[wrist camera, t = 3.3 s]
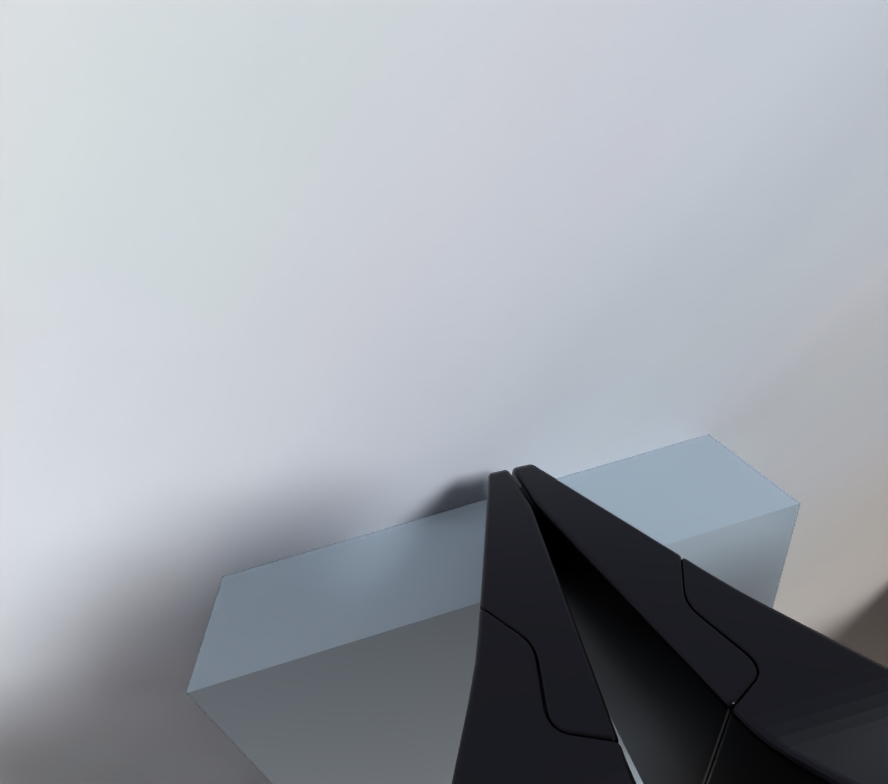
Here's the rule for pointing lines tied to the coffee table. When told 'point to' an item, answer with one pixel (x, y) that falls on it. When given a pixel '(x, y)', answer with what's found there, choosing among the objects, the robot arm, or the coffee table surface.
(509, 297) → the coffee table surface
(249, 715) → the slate tile
